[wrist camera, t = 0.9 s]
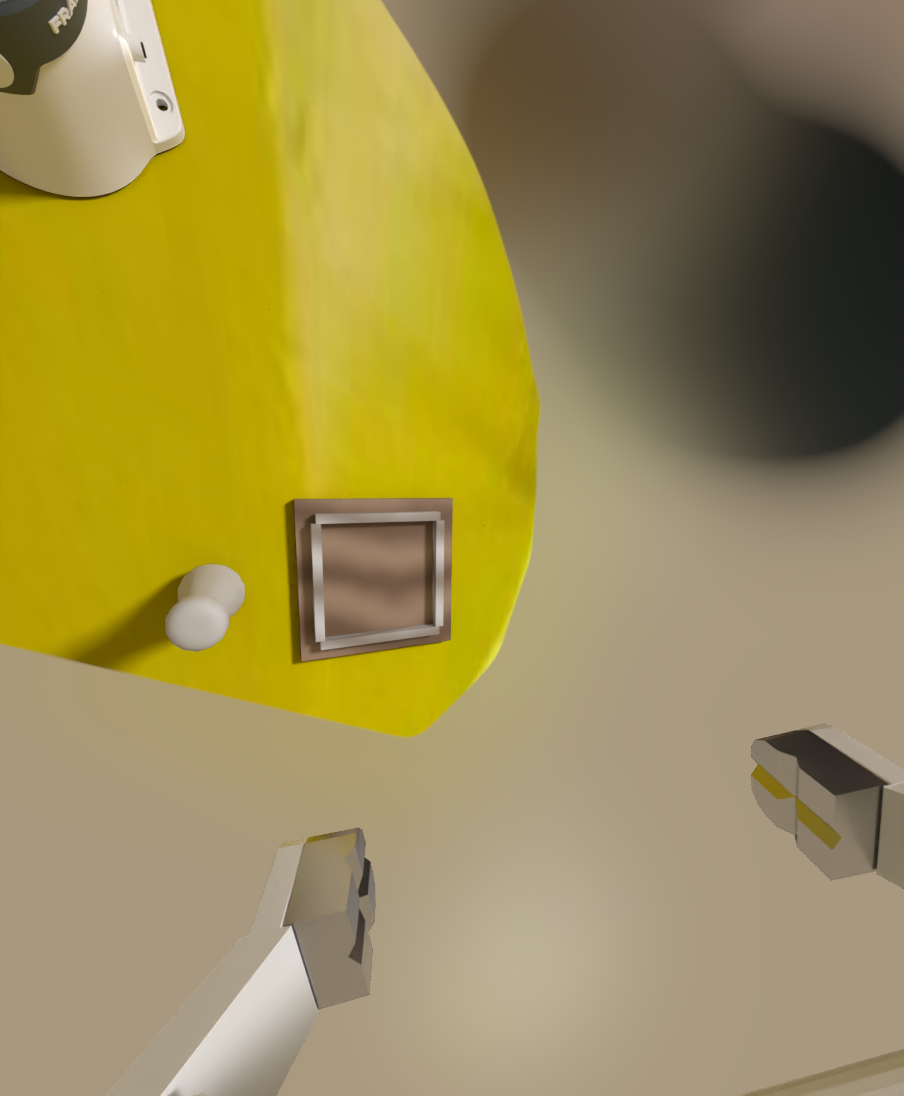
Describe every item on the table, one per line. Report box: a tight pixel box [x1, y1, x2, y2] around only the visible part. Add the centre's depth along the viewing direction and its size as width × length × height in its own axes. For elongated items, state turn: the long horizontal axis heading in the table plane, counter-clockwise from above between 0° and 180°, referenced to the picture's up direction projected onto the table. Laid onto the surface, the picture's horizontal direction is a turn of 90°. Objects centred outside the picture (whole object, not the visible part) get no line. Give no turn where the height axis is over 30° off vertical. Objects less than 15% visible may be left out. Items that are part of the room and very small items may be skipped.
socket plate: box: [294, 498, 453, 661], centre depth 50 cm, size 18×18×2 cm
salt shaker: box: [165, 564, 245, 651], centre depth 38 cm, size 6×6×13 cm
